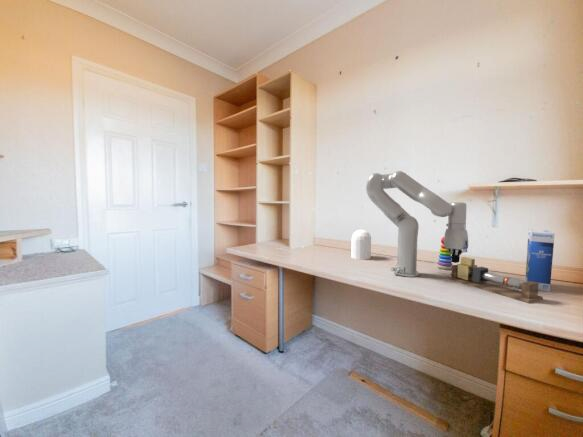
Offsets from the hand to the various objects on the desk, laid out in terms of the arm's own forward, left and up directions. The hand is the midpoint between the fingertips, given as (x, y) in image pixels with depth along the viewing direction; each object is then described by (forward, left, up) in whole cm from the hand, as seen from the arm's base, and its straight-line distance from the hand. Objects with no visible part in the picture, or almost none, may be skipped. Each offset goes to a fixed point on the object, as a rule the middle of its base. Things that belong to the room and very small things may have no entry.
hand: (455, 262), depth 128 cm
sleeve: (0, -6, -6) cm, 9 cm away
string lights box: (+23, -23, -8) cm, 34 cm away
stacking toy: (+13, +15, -8) cm, 21 cm away
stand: (0, -16, -8) cm, 18 cm away
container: (-15, +57, -8) cm, 59 cm away
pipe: (0, -16, -5) cm, 17 cm away
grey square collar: (0, -12, -6) cm, 14 cm away
